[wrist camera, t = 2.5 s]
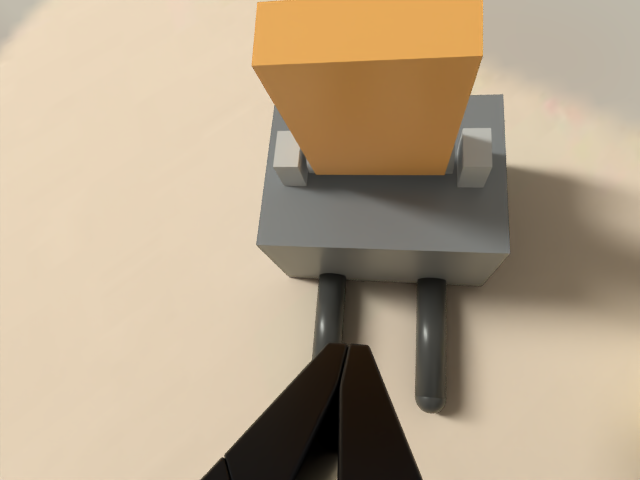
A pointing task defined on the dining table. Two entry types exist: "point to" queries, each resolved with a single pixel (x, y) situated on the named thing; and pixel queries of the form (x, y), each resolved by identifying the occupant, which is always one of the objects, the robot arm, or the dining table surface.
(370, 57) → the toggle lever
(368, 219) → the switch box
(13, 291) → the dining table surface
